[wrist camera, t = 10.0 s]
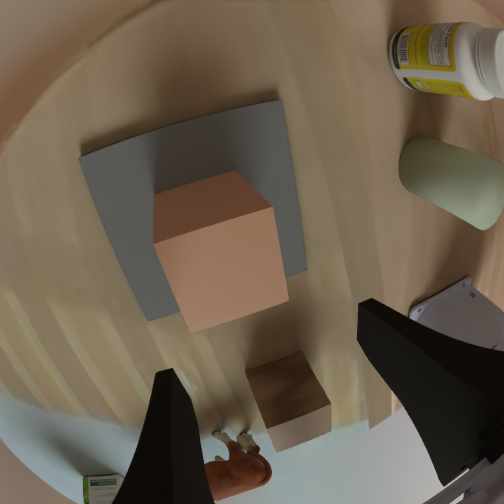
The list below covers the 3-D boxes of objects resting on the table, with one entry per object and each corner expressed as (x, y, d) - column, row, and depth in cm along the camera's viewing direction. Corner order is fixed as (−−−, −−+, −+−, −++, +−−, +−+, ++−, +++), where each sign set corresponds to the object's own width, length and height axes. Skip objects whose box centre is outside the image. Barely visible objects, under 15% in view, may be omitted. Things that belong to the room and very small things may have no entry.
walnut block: (300, 350, 26) (331, 403, 21) (305, 382, 28) (331, 431, 23) (244, 370, 25) (266, 429, 20) (256, 400, 28) (276, 452, 23)
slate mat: (277, 99, 16) (281, 99, 15) (303, 265, 22) (306, 269, 21) (80, 156, 14) (78, 158, 14) (147, 315, 20) (147, 321, 19)
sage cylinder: (438, 133, 20) (511, 158, 14) (437, 186, 22) (503, 220, 16) (397, 139, 19) (476, 166, 13) (398, 197, 21) (468, 238, 15)
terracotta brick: (235, 170, 17) (272, 206, 12) (251, 242, 19) (289, 300, 14) (154, 194, 16) (153, 244, 11) (178, 265, 18) (190, 333, 13)
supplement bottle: (441, 75, 18) (535, 90, 10) (405, 102, 18) (507, 124, 11) (415, 18, 15) (513, 14, 8) (375, 41, 15) (481, 35, 8)
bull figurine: (137, 453, 28) (146, 518, 21) (248, 416, 29) (274, 485, 22) (159, 466, 30) (169, 525, 23) (262, 431, 31) (286, 493, 24)
